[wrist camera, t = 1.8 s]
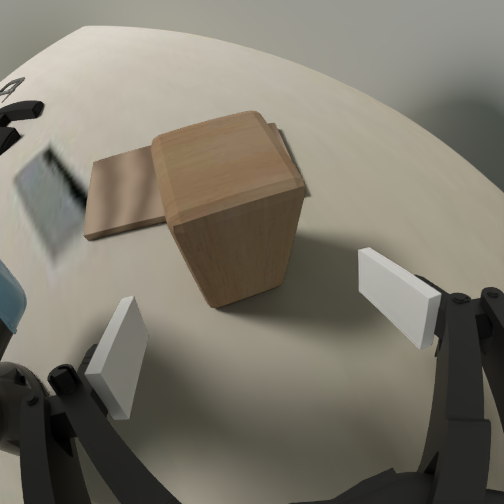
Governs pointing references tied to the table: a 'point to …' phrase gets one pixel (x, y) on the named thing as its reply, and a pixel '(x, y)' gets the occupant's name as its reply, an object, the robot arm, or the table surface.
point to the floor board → (127, 193)
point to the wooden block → (230, 203)
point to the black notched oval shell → (6, 136)
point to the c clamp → (17, 81)
